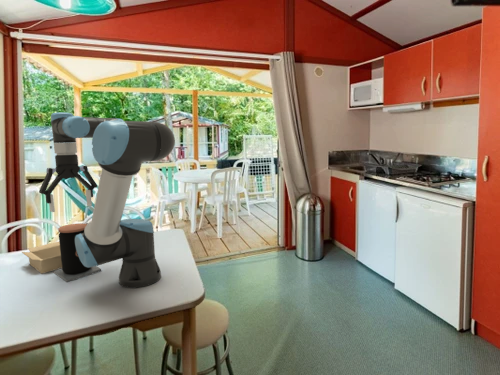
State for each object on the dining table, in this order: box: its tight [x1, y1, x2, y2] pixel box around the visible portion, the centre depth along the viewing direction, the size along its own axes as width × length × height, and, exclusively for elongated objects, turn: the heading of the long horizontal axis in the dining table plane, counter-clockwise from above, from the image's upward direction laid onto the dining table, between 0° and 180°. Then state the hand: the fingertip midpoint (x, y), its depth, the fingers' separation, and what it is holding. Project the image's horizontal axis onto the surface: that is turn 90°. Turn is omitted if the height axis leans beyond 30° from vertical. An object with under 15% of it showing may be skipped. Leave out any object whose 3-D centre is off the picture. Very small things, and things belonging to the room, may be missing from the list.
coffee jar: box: [57, 223, 91, 275], centre depth 128 cm, size 11×11×18 cm
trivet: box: [53, 266, 102, 283], centre depth 129 cm, size 13×13×1 cm
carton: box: [21, 241, 62, 274], centre depth 141 cm, size 20×24×6 cm
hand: (71, 208), depth 125 cm, fingers open, 13 cm apart
